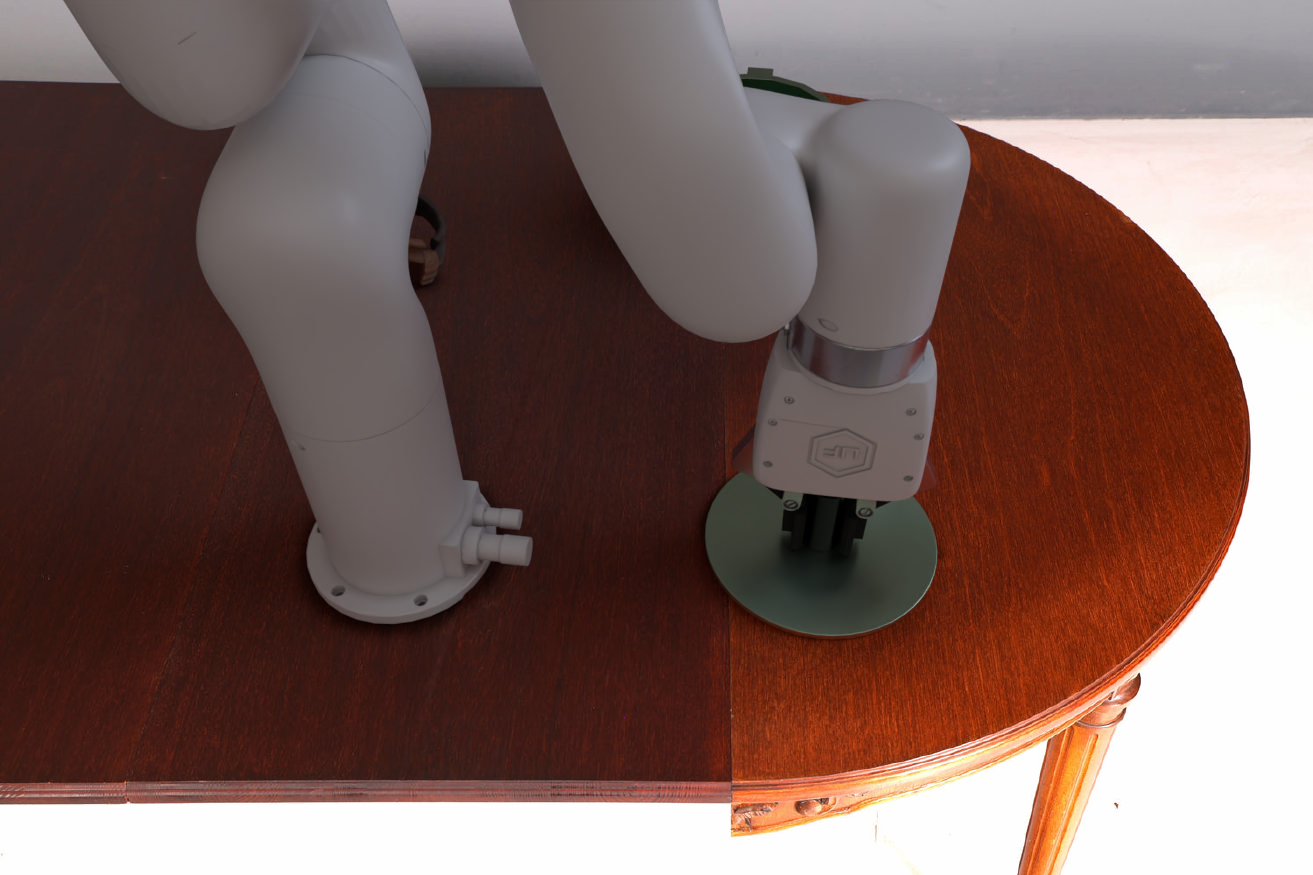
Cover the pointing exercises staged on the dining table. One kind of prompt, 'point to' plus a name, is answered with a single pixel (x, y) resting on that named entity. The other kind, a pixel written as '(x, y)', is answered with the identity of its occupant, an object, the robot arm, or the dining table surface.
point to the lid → (819, 562)
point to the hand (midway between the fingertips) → (820, 535)
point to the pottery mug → (436, 252)
